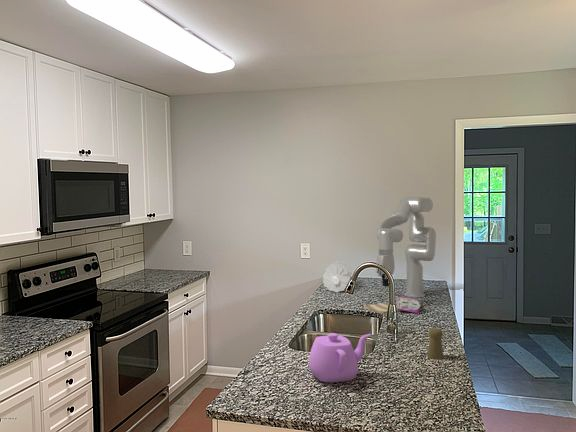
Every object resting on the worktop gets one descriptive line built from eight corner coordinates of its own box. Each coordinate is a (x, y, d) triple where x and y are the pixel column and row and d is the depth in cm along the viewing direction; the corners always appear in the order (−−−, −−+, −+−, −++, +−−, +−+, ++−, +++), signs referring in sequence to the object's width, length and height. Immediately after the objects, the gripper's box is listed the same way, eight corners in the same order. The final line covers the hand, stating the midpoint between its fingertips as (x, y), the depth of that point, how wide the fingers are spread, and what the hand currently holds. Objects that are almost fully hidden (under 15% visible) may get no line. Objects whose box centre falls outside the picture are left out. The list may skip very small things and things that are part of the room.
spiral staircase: (329, 299, 304) (333, 289, 328) (354, 288, 300) (356, 278, 324) (316, 273, 304) (321, 265, 328) (341, 262, 300) (344, 254, 324)
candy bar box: (396, 302, 270) (397, 309, 254) (397, 294, 270) (399, 300, 254) (416, 306, 269) (418, 314, 252) (417, 298, 268) (420, 304, 252)
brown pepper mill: (443, 355, 190) (443, 327, 190) (443, 360, 185) (443, 332, 184) (427, 353, 192) (428, 326, 192) (427, 358, 187) (427, 330, 186)
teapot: (320, 392, 156) (320, 347, 156) (304, 369, 177) (303, 328, 176) (385, 385, 162) (385, 341, 161) (362, 363, 182) (362, 324, 181)
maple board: (382, 304, 273) (382, 302, 273) (403, 310, 260) (403, 307, 260) (363, 308, 264) (363, 306, 264) (383, 314, 252) (383, 312, 252)
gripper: (390, 250, 269) (390, 283, 270) (371, 253, 260) (370, 286, 261) (400, 252, 263) (400, 285, 264) (381, 254, 254) (381, 288, 255)
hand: (385, 285), depth 262 cm, fingers closed
